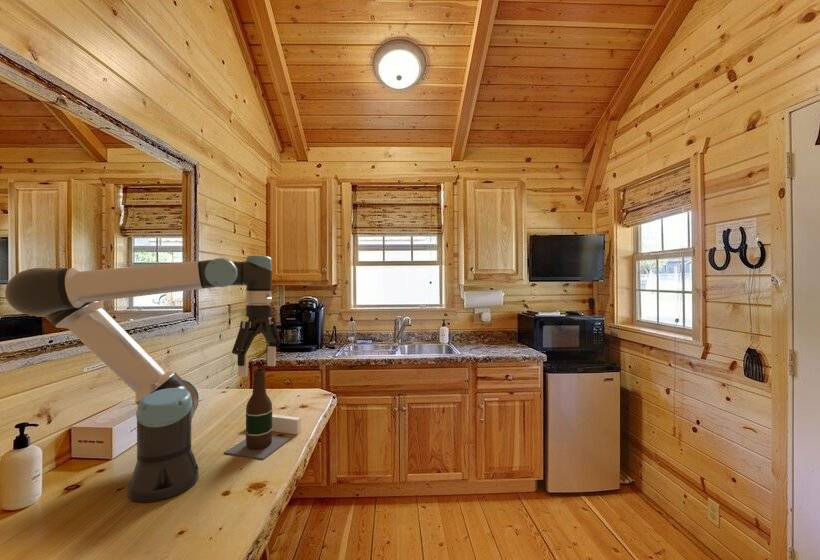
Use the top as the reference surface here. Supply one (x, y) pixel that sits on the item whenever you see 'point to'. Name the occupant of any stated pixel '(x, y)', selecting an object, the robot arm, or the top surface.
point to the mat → (257, 454)
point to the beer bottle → (259, 415)
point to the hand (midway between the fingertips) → (258, 370)
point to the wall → (286, 424)
